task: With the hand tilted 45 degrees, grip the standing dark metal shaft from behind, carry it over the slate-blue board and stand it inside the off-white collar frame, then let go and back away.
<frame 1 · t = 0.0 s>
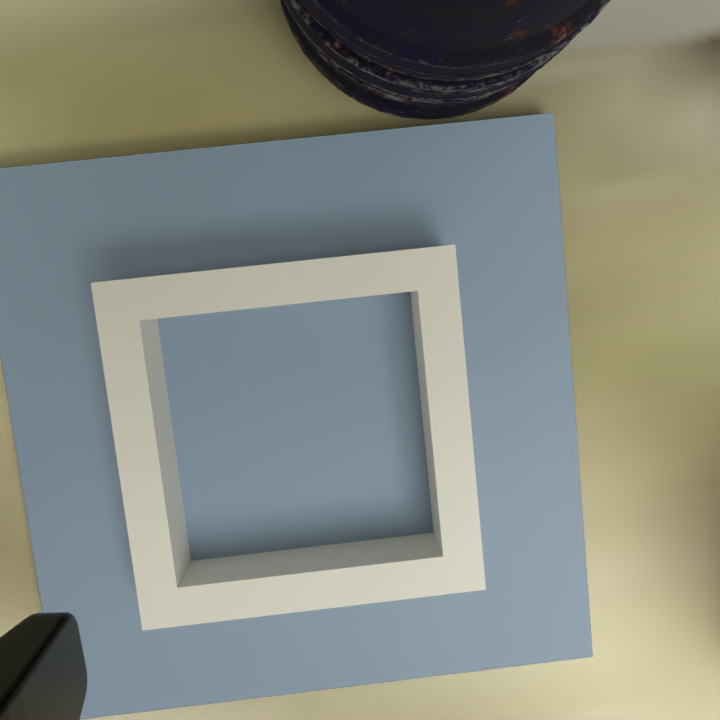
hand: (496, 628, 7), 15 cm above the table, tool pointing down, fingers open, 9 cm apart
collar: (300, 422, 23), on the table
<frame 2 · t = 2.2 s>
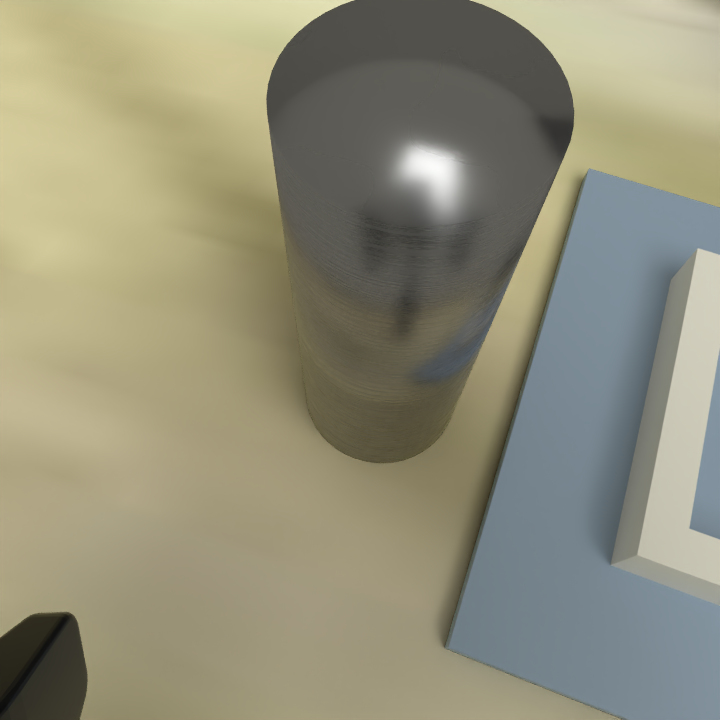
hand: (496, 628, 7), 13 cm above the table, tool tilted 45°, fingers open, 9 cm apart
shaft: (380, 390, 23), on the table
when the fingers open (9 cm above the table, at t = 8.8 s): shaft drops 1 cm, resting on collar.
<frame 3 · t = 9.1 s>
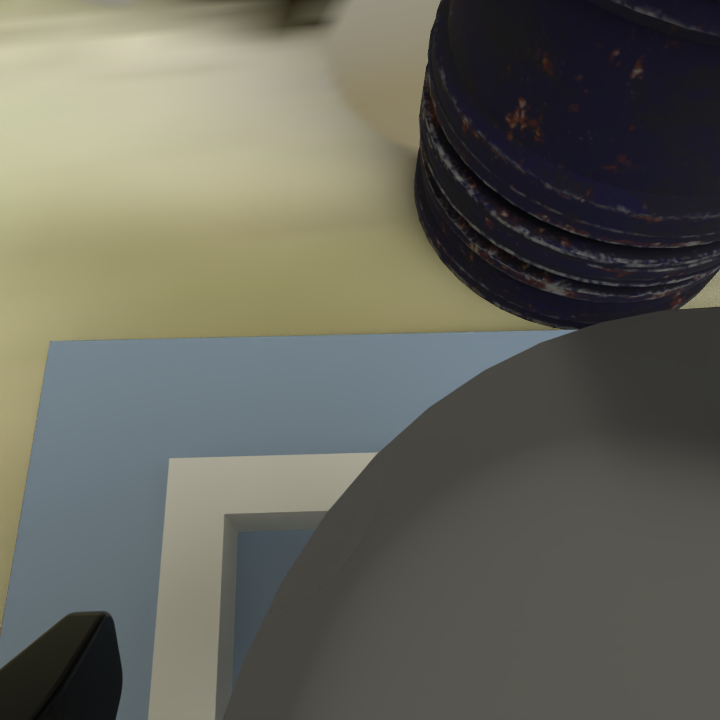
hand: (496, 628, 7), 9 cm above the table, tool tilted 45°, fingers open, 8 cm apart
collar: (420, 718, 15), on the table
storage jar: (568, 196, 21), on the table
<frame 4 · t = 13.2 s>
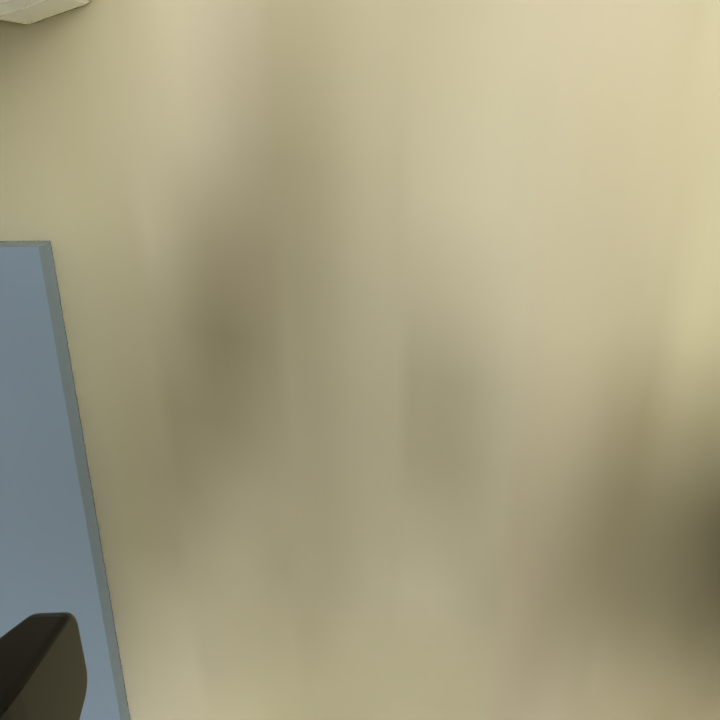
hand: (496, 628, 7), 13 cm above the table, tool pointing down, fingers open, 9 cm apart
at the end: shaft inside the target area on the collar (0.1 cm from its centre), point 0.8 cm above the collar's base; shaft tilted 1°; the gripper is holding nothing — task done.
